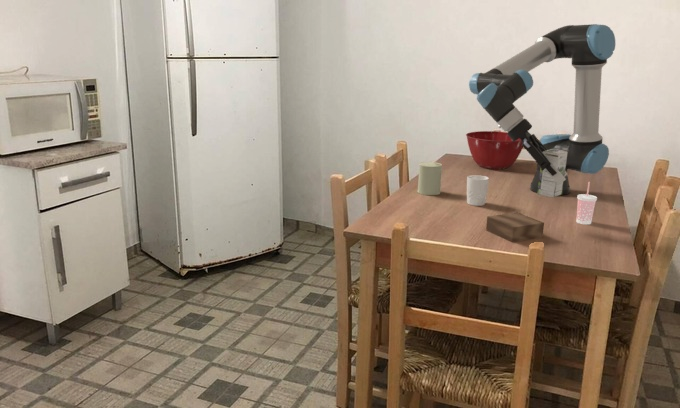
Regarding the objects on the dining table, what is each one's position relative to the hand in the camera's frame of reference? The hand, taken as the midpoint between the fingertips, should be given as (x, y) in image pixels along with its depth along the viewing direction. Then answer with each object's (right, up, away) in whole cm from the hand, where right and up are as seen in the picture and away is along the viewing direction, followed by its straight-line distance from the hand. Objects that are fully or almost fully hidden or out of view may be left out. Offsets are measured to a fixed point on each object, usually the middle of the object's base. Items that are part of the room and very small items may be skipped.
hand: (563, 179), depth 176 cm
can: (-35, -3, +46) cm, 58 cm away
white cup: (-20, -8, +31) cm, 38 cm away
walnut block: (-17, -18, -3) cm, 24 cm away
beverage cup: (+11, -14, +10) cm, 20 cm away
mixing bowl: (+4, +10, +97) cm, 97 cm away
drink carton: (-3, -5, +3) cm, 7 cm away
